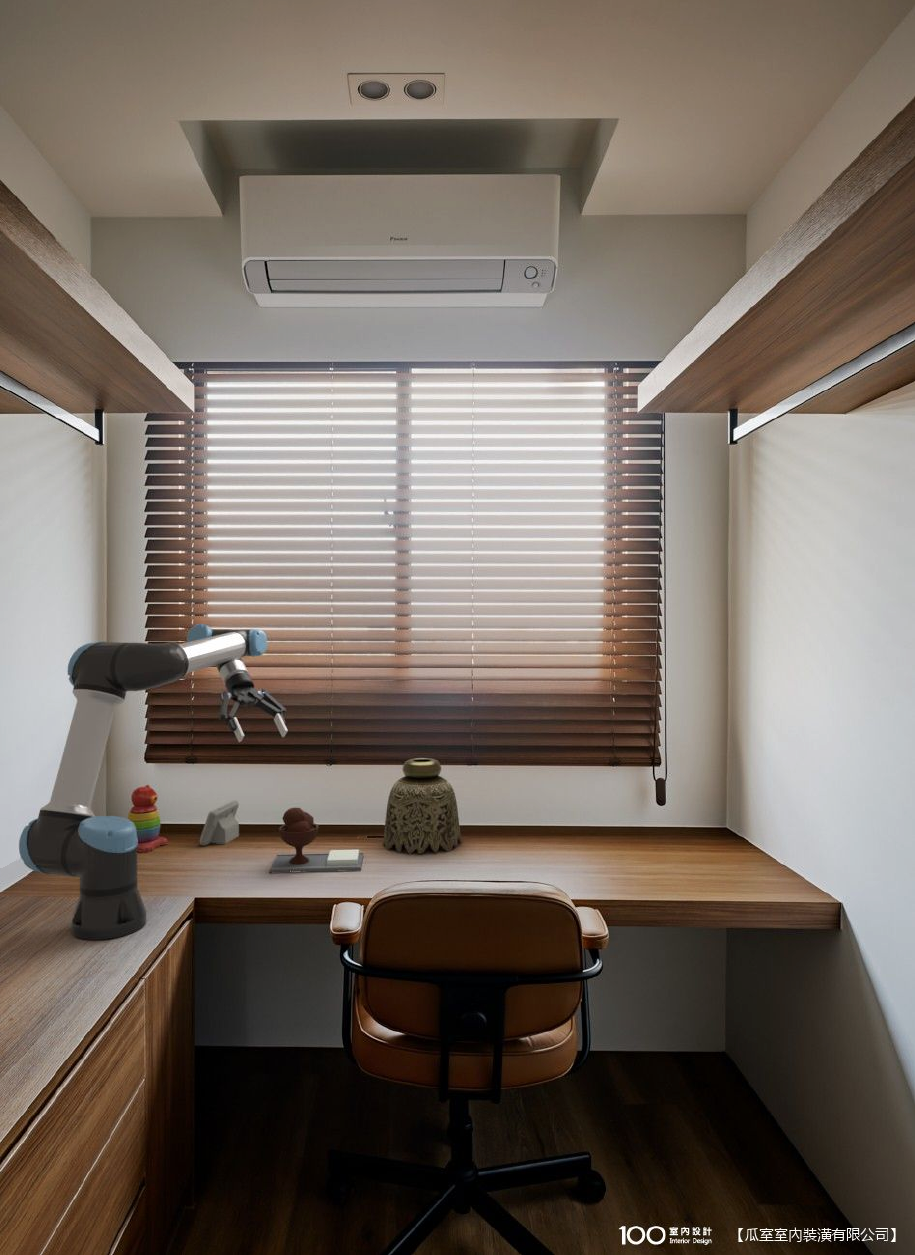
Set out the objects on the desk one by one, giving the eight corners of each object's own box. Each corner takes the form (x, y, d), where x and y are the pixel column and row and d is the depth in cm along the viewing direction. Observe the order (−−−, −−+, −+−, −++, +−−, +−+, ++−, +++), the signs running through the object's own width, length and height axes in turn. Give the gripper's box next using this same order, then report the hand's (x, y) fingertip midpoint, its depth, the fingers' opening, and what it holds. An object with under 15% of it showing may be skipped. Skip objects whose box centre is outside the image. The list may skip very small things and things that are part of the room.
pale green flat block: (327, 866, 215) (327, 860, 215) (330, 855, 225) (330, 849, 225) (357, 865, 216) (357, 859, 216) (359, 854, 226) (359, 848, 226)
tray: (269, 872, 213) (269, 868, 213) (277, 858, 226) (277, 854, 226) (360, 870, 215) (360, 866, 214) (363, 856, 227) (363, 852, 227)
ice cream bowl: (311, 868, 214) (310, 812, 213) (272, 866, 216) (271, 810, 215) (325, 857, 224) (325, 803, 224) (287, 854, 226) (287, 801, 226)
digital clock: (226, 831, 254) (225, 798, 254) (249, 834, 250) (249, 800, 250) (190, 845, 239) (190, 809, 239) (214, 848, 235) (214, 812, 235)
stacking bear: (146, 853, 231) (145, 791, 231) (117, 850, 234) (117, 789, 234) (171, 843, 241) (170, 784, 241) (143, 840, 245) (142, 781, 244)
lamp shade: (454, 856, 227) (453, 768, 226) (374, 853, 230) (374, 766, 230) (466, 834, 250) (465, 754, 249) (394, 831, 253) (393, 752, 253)
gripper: (270, 685, 245) (297, 740, 235) (192, 690, 228) (217, 749, 217) (279, 669, 242) (307, 723, 231) (200, 672, 224) (227, 732, 214)
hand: (263, 736), depth 224 cm, fingers open, 13 cm apart
